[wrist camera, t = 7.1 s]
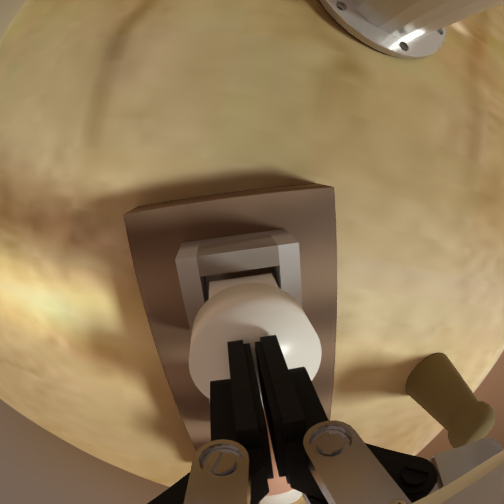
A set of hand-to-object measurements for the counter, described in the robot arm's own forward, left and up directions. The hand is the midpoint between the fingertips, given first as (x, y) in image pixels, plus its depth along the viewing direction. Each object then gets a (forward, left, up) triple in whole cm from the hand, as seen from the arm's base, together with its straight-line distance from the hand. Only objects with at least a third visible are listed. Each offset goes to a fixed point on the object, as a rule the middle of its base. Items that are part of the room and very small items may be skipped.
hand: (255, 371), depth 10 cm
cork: (+16, +19, -11) cm, 27 cm away
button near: (0, 0, -5) cm, 5 cm away
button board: (+9, 0, -11) cm, 14 cm away
